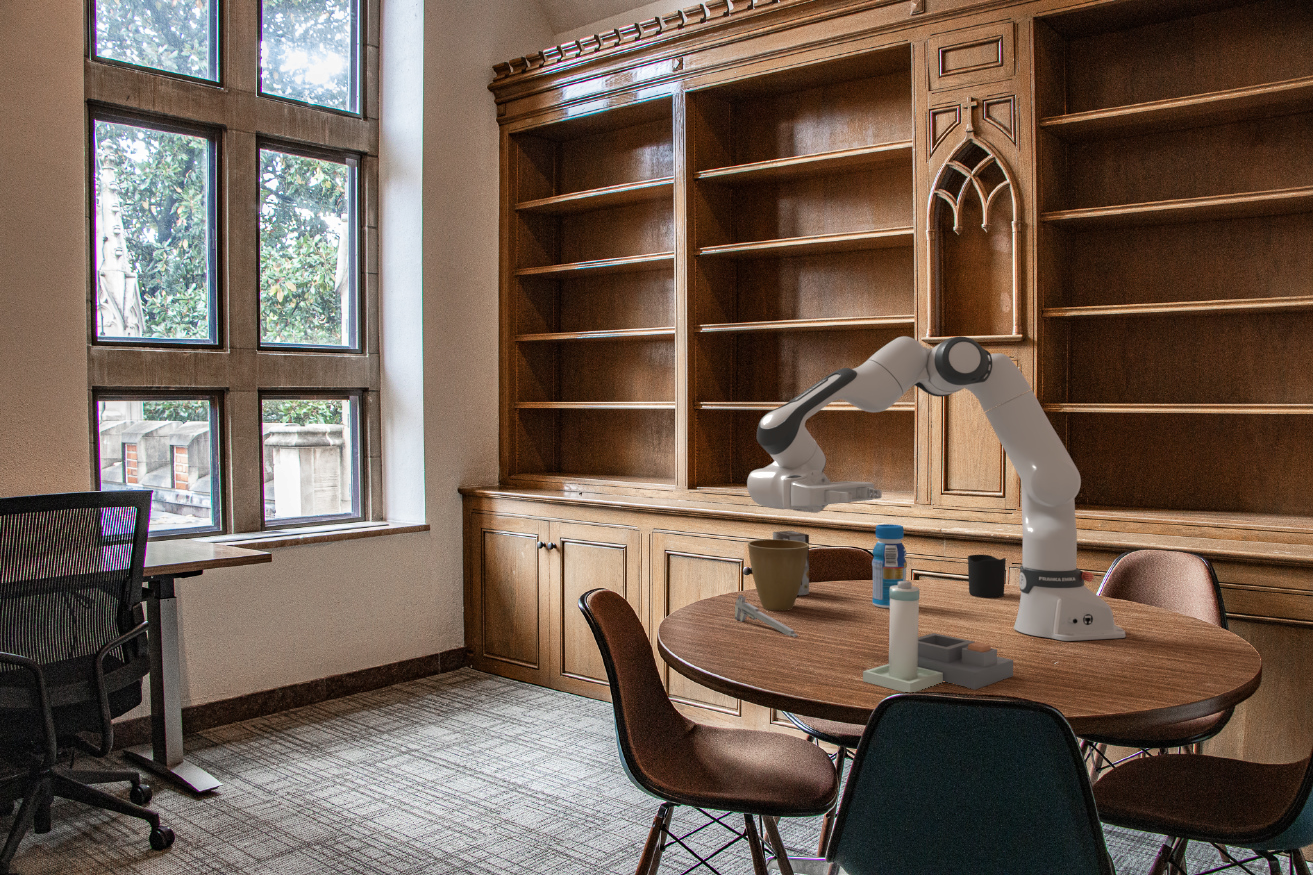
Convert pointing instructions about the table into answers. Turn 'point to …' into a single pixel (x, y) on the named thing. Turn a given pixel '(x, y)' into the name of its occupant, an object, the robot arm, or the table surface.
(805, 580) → the coffee box
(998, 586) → the pen holder
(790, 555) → the plant pot
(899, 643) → the cartridge
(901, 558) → the beverage bottle
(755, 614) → the caliper
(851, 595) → the table surface
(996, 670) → the housing
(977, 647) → the plunger
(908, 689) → the tray
